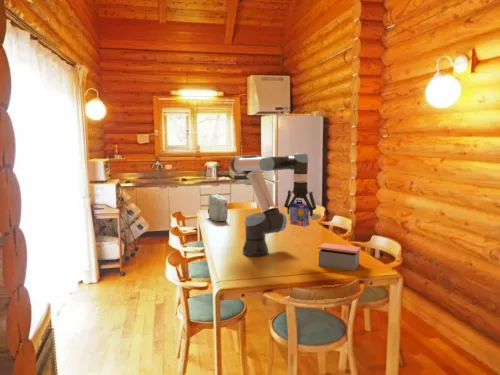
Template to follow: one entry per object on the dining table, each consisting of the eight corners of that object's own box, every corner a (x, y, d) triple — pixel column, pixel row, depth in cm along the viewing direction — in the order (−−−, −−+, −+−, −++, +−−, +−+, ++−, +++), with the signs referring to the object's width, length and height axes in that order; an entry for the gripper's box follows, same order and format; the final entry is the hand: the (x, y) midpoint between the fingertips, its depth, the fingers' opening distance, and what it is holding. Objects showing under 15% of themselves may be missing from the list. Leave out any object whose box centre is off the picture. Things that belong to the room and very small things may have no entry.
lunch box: (206, 217, 329) (206, 193, 326) (217, 216, 334) (217, 192, 331) (217, 223, 305) (216, 197, 302) (229, 222, 309) (228, 196, 307)
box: (318, 265, 203) (318, 251, 202) (324, 259, 214) (324, 245, 213) (354, 271, 195) (355, 255, 194) (359, 264, 206) (359, 249, 204)
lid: (318, 248, 202) (318, 246, 202) (324, 244, 213) (324, 242, 213) (356, 253, 193) (356, 251, 193) (360, 249, 205) (360, 247, 205)
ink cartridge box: (289, 224, 212) (289, 198, 210) (294, 222, 217) (295, 197, 215) (304, 227, 206) (305, 200, 204) (309, 225, 211) (310, 199, 209)
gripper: (278, 181, 210) (278, 220, 213) (319, 183, 200) (318, 224, 203) (283, 179, 216) (282, 217, 219) (322, 181, 207) (321, 221, 210)
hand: (299, 220), depth 211 cm, fingers closed on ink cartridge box, 10 cm apart
